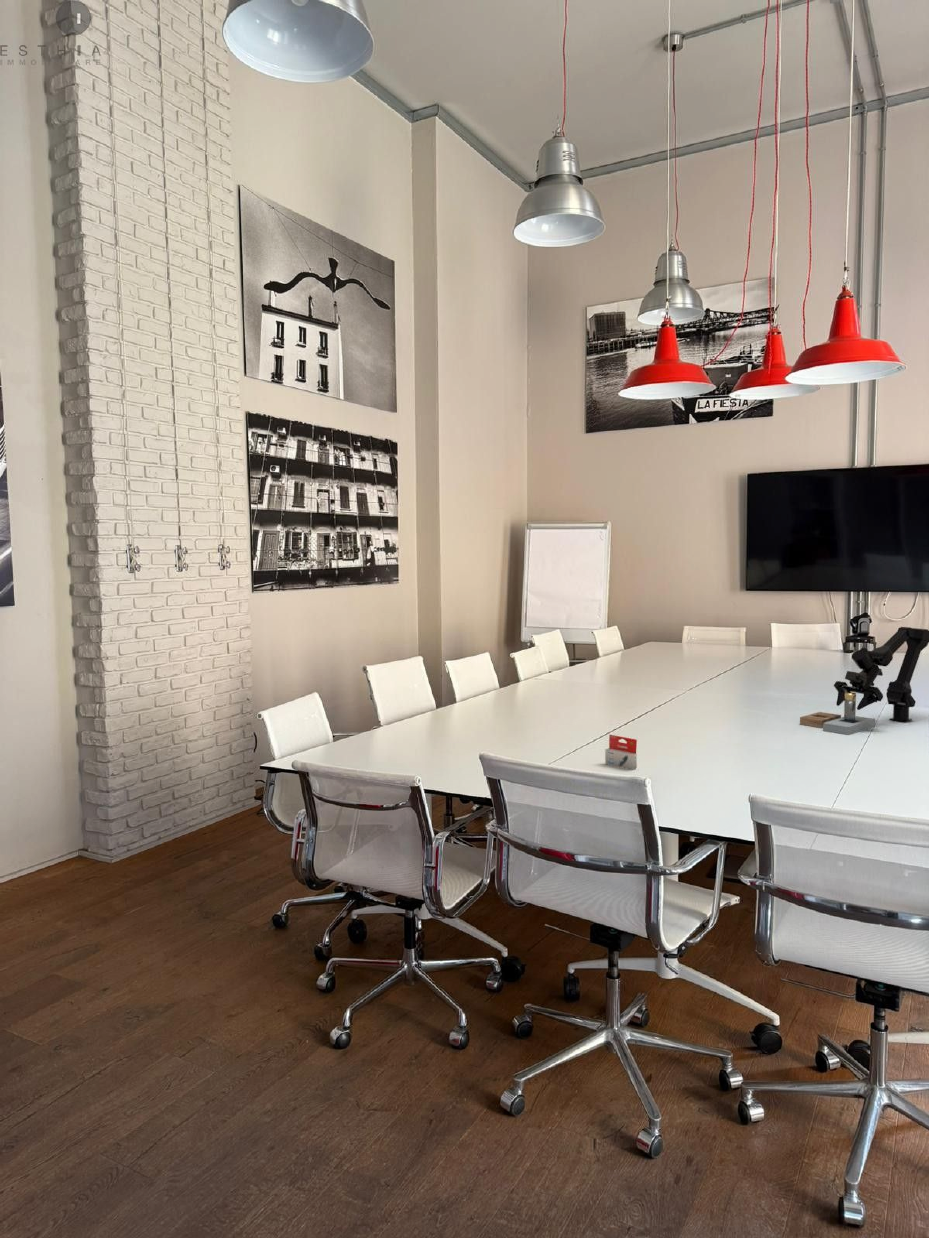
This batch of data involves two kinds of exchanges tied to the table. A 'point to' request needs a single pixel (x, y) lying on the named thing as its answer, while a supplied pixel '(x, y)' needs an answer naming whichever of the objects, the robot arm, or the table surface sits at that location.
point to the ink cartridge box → (621, 752)
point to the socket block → (818, 719)
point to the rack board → (848, 725)
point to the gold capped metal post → (850, 707)
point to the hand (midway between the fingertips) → (847, 707)
